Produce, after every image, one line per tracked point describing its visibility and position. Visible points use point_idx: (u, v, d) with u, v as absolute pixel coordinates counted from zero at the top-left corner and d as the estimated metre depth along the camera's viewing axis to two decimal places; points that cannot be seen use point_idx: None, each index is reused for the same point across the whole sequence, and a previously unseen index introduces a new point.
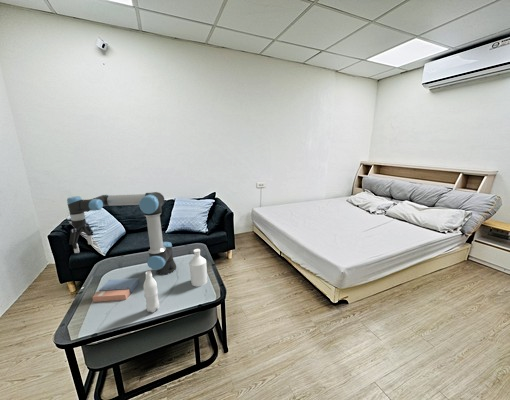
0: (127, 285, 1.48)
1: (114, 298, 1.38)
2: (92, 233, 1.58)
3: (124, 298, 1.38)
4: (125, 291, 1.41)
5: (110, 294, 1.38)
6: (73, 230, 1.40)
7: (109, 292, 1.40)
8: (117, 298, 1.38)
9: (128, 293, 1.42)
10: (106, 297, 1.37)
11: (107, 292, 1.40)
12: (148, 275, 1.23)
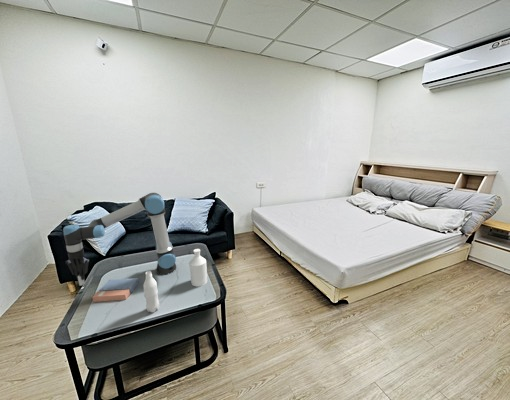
0: (127, 285, 1.48)
1: (114, 298, 1.38)
2: (83, 273, 1.34)
3: (124, 298, 1.38)
4: (125, 291, 1.41)
5: (110, 294, 1.38)
6: None
7: (109, 292, 1.40)
8: (117, 298, 1.38)
9: (128, 293, 1.42)
10: (106, 297, 1.37)
11: (107, 292, 1.40)
12: (148, 275, 1.23)
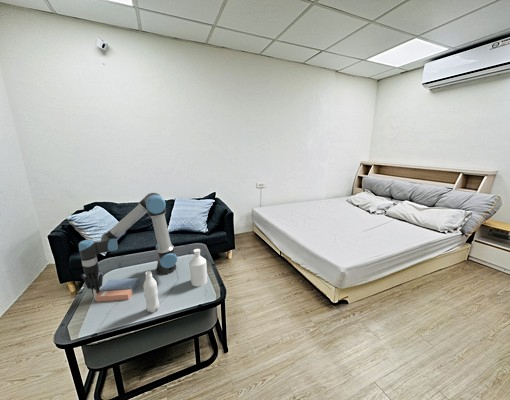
0: (127, 285, 1.48)
1: (117, 298, 1.38)
2: (98, 287, 1.37)
3: (127, 298, 1.38)
4: (127, 291, 1.41)
5: (113, 294, 1.39)
6: None
7: (112, 292, 1.40)
8: (120, 298, 1.38)
9: (130, 293, 1.42)
10: (109, 297, 1.37)
11: (110, 292, 1.41)
12: (148, 275, 1.23)
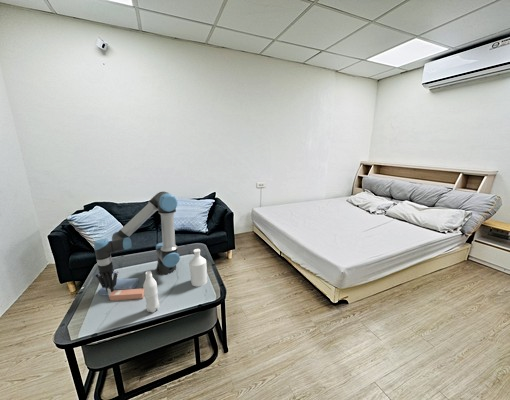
0: (127, 285, 1.48)
1: (131, 297, 1.39)
2: (112, 286, 1.38)
3: (141, 297, 1.39)
4: (141, 290, 1.42)
5: (127, 293, 1.39)
6: None
7: (126, 291, 1.41)
8: (134, 297, 1.39)
9: None
10: (123, 296, 1.38)
11: (124, 291, 1.41)
12: (148, 275, 1.23)
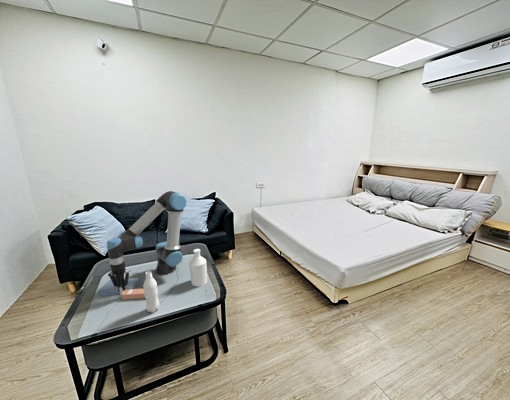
0: (127, 285, 1.48)
1: (143, 296, 1.39)
2: (124, 285, 1.38)
3: None
4: None
5: (139, 292, 1.40)
6: None
7: (138, 290, 1.42)
8: None
9: None
10: (135, 295, 1.39)
11: (135, 290, 1.42)
12: (148, 275, 1.23)
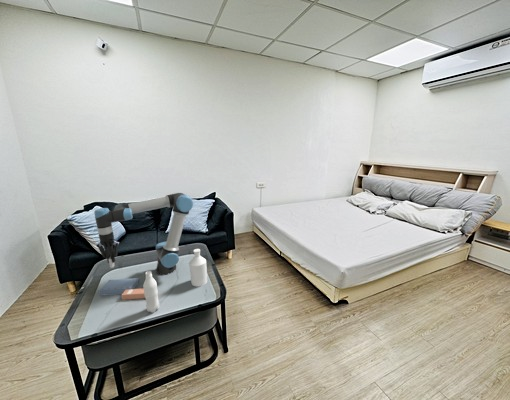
0: (127, 285, 1.48)
1: (143, 296, 1.39)
2: (113, 256, 1.37)
3: None
4: None
5: (139, 292, 1.40)
6: None
7: (138, 290, 1.42)
8: None
9: None
10: (135, 295, 1.39)
11: (135, 290, 1.42)
12: (148, 275, 1.23)
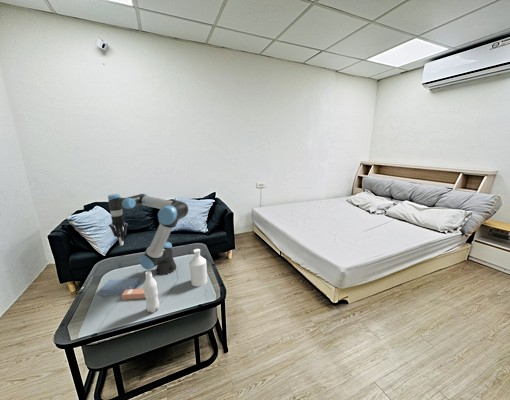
0: (127, 285, 1.48)
1: (143, 296, 1.39)
2: (123, 235, 1.61)
3: None
4: None
5: (139, 292, 1.40)
6: None
7: (138, 290, 1.42)
8: None
9: None
10: (135, 295, 1.39)
11: (135, 290, 1.42)
12: (148, 275, 1.23)
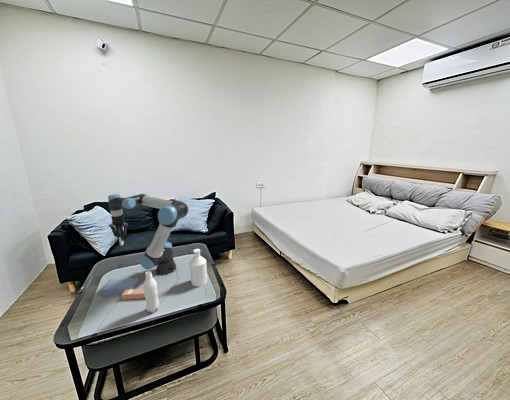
0: (127, 285, 1.48)
1: (143, 296, 1.39)
2: (123, 235, 1.61)
3: None
4: None
5: (139, 292, 1.40)
6: None
7: (138, 290, 1.42)
8: None
9: None
10: (135, 295, 1.39)
11: (135, 290, 1.42)
12: (148, 275, 1.23)
